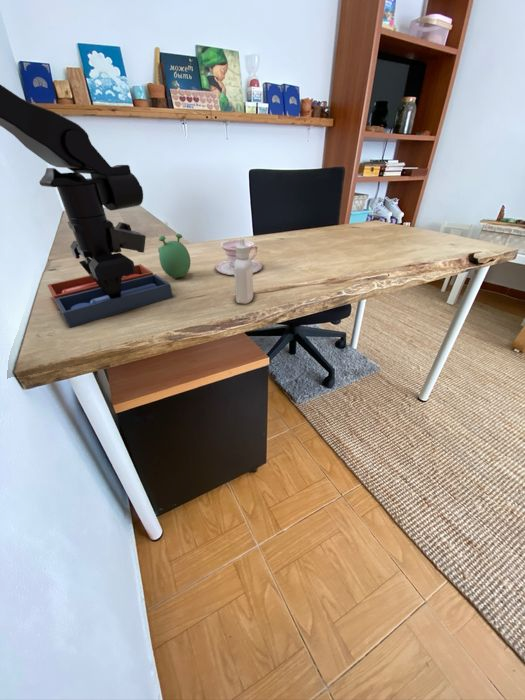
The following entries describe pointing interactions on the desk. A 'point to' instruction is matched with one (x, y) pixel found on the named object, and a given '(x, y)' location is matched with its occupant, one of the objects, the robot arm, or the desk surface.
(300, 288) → the desk surface
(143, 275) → the far bin
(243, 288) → the eye dropper bottle
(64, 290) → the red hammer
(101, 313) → the near bin
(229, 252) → the teacup
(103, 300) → the blue spoon
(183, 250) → the alien toy
